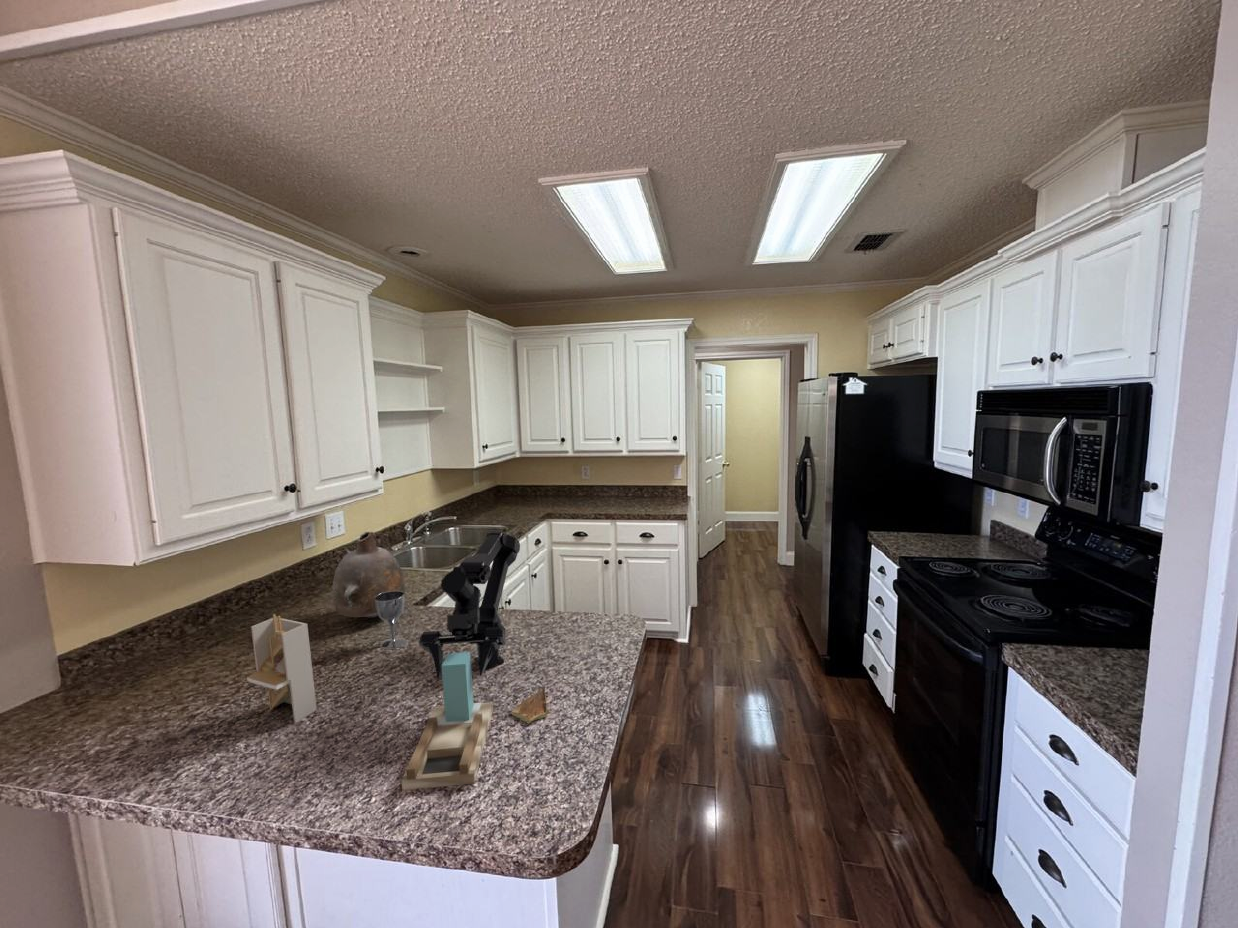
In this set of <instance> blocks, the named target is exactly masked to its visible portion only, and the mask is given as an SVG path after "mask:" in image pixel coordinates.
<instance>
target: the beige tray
mask: <svg viewBox="0 0 1238 928" xmlns="http://www.w3.org/2000/svg"><path fill="white" fill-rule="evenodd" d="M493 704H494V703H493V701H491V702H490V701H488V702H474V707H473V710H472V713H471V716H470V719H469V720H463V721H451V722H446V719H445V705H440V706H434V707H433V709H432V712H431V713H430V716H429V718H428V720H427V723H426V726H425V727H424V730H423V731H422V734H421V736H420V738H419V741H418V742H417V745H416V747H415V749H414V751H413V754H412V756H411V757H410V760H409V763H408V765H407V766H406V770H405V771H404V774H403V776H402V778H401V789H402V790H401V791H407V790H409V791H410V790H419V789H429V788H440V787H451V786H460V785H468V784H469V785H470V784H475V782H476V778H477V774H478V770H479V766H480V763H481V758H482V755H483V751H484V746H485V743H486V738H487V736H488V731H489V728H490V724H491V719H492V716H493V711H494V705H493Z"/></svg>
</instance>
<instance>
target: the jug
mask: <svg viewBox="0 0 1238 928" xmlns="http://www.w3.org/2000/svg"><path fill="white" fill-rule="evenodd" d="M342 556H343V558H342V559H341V561H339V563H338V565H337V567H336V568H335V572H334V574H333V575H334V576H333V581H332V599H333V605H334V608H335V610H336V612H337V613H338V614H340V615H341V616H344V617H345V616H346V617H350V618H360V617H361V618H363V617H364V618H369V619H372V618H376V617H379V616H378V614H377V611H376V607H375V596H377V595H378V594H380V593H383V592H387V591H395V590H398V591H402V592H404V597H405V595H406V584H405V577H404V573H403V570H402V568H401V565H400V564H399V562H398V560H397V558H396V557H395V555H394V554H393V553H392V552H390V551H389V550H387V548H386V549H385V548H384V547H383V548H382V547H380V546H377V543H376V541H375V537H374V531H366V532H364V533H361V535H360V536H359V537H358V539H357V543H356V549H354V550H352V551H350V550H349V549H348V548H345V549H343V551H342Z"/></svg>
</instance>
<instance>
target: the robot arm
mask: <svg viewBox="0 0 1238 928" xmlns="http://www.w3.org/2000/svg"><path fill="white" fill-rule="evenodd" d="M520 549H521V542H520V541H519V540H518V539H517V537H515V536H512V535H510V534H508V533H506V532H505V531H504V532H503V531H490V532H488V533H486V538H485V539H484V541H483V542H482V544H481V545H480V547H478V550H477V551H476V552H475V553H474V554H473V555H471V556H468V557H465V559H464V560H462V562H460V563H459V565H458V566H453V569H452V571H450V572H448V573H447V574H445V576H444V577H443V579H442V580H441V584H440V585H441V589H442V591H443V592H444V593H445V594H446V595H447V596H448V597H449V598H450V599H451V600H452V601H453V602H454V609H453V611H452V614H449V615H447V617H446V619H447V621H446V630H447V631H448V632H449V634H445V635H443V634H442V633H441V632H440V631H439V630H435V631H434V630H432V631H431V630H430V631H423V632H422V633H420V634H421V635H420V636H419V641H418V644H419V645H420V647H421V648H422V649H423V650H424V651H427V653H429V655H431V656H432V659H433V663H434V669H435V674H436V678H437V680H441V678H442V664H443V662H444V650H443V649H442V648H443V647H444V645H448V644H449V645H450V644H452V645H453V644H462V643H463V644H465V643H466V644H467V643H469V645H472V644H473V645H476V649H477V657H474V658H473V662H474V663H475V664H476V665H477V666H478V668H479V676H480V677H482V676H483V675H484V672H485V670H486V669H489V668H493V667H495V666H497V665H501V664H503V663H505V659H504V658H502V656H501V655H500V646H504V645H506V640H507V639H506V637H507V636H506V633H507V632H506V628H505V627H504V625H503V624H502V620H501V617H500V614H499V612H498V611H499V607H500V603H501V598H502V595H503V591H504V587H505V586H504V585H505V582H506V579H507V574H508V570H509V568H510V566H511V565H512V564H514V563H515V561H516V559H517V557H518V554H519V553H520ZM491 564H492V565H491ZM485 584H486V587H485V589H484V594H483V598H482V593H481V590H480V588H479V587H478V586H476V585H485ZM481 598H482V601H481V604H480V600H481Z"/></svg>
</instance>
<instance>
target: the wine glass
mask: <svg viewBox="0 0 1238 928" xmlns="http://www.w3.org/2000/svg"><path fill="white" fill-rule="evenodd" d="M375 607H376V611H377V614H378V616H377V617H378V618H380V619H381V620H382V621H384V622H385V623H387V625H388V626H389V630H390V636H391V638H389V639H387V640H384V641H383V642H382V643H381V644H380V648H381V649H382V650H394V649H398V648H401V647H403V646H404V645H405V644H406V643H407V639H406V638H404V637H395V625H396V622H397V621H398V620H399V618H400V617H401V615H402V614H403V612H404V609H405V596H404V592H402V591H398V590H395V591H387V592H383V593H380V594H378V595H377V596H375Z"/></svg>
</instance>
